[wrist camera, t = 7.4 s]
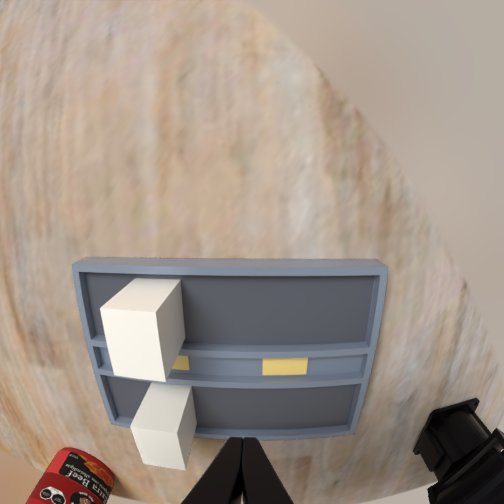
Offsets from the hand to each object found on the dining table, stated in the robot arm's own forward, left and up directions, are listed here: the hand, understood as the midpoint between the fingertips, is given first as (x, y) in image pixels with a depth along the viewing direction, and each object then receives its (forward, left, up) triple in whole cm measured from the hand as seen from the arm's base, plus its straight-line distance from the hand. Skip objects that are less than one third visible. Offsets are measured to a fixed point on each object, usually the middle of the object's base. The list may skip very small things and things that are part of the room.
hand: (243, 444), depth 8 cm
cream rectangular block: (+6, 0, -11) cm, 12 cm away
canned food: (+20, +23, -12) cm, 33 cm away
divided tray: (+2, +4, -12) cm, 13 cm away
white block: (+6, +8, -11) cm, 14 cm away
